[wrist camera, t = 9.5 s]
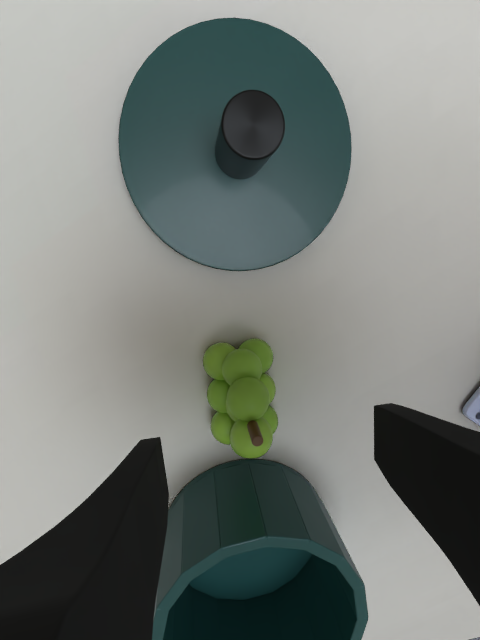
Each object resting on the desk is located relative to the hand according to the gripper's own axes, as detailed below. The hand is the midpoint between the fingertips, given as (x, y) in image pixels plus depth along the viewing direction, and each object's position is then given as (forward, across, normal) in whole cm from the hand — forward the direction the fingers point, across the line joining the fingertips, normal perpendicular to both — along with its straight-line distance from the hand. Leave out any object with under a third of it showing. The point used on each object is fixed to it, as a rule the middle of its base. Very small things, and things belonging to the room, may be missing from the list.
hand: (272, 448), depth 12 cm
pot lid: (+8, -1, -11) cm, 14 cm away
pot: (+9, +1, +11) cm, 14 cm away
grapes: (+9, 0, +1) cm, 9 cm away
